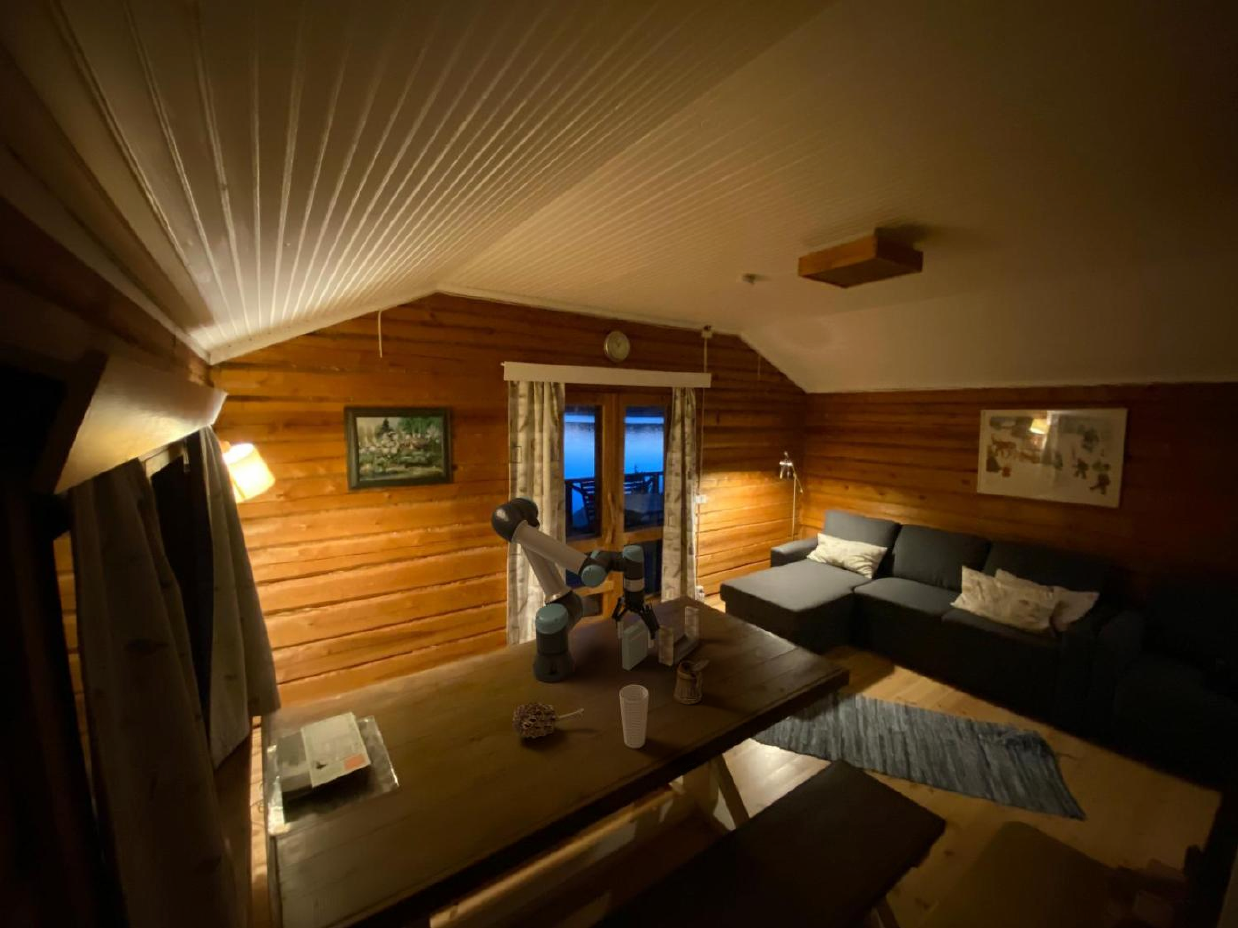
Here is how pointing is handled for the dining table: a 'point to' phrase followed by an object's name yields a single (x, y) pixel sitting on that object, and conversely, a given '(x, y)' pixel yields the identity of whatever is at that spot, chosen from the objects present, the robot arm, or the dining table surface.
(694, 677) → the wooden mug
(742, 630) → the dining table surface
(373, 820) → the dining table surface
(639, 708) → the cup
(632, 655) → the door panel
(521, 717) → the dried seed pod
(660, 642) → the u-shaped holder
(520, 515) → the robot arm
